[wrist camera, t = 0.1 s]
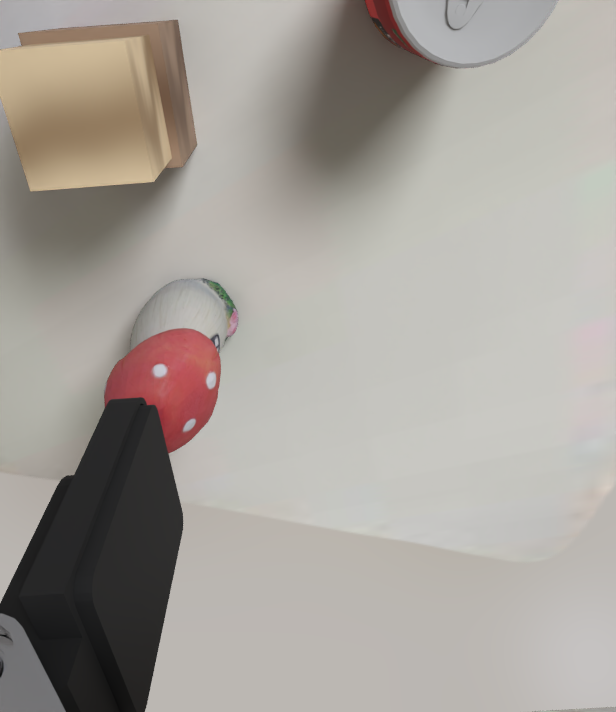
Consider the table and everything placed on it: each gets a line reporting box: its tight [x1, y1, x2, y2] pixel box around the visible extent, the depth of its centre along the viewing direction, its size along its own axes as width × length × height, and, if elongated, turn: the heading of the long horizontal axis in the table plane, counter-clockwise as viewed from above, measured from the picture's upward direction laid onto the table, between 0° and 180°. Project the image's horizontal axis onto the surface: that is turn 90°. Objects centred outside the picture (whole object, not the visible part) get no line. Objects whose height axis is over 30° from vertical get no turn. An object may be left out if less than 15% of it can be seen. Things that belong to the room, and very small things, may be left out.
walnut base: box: [18, 20, 197, 168], centre depth 33 cm, size 7×7×6 cm
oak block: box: [0, 35, 172, 191], centre depth 29 cm, size 6×6×5 cm
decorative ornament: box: [104, 279, 238, 453], centre depth 38 cm, size 9×7×15 cm
